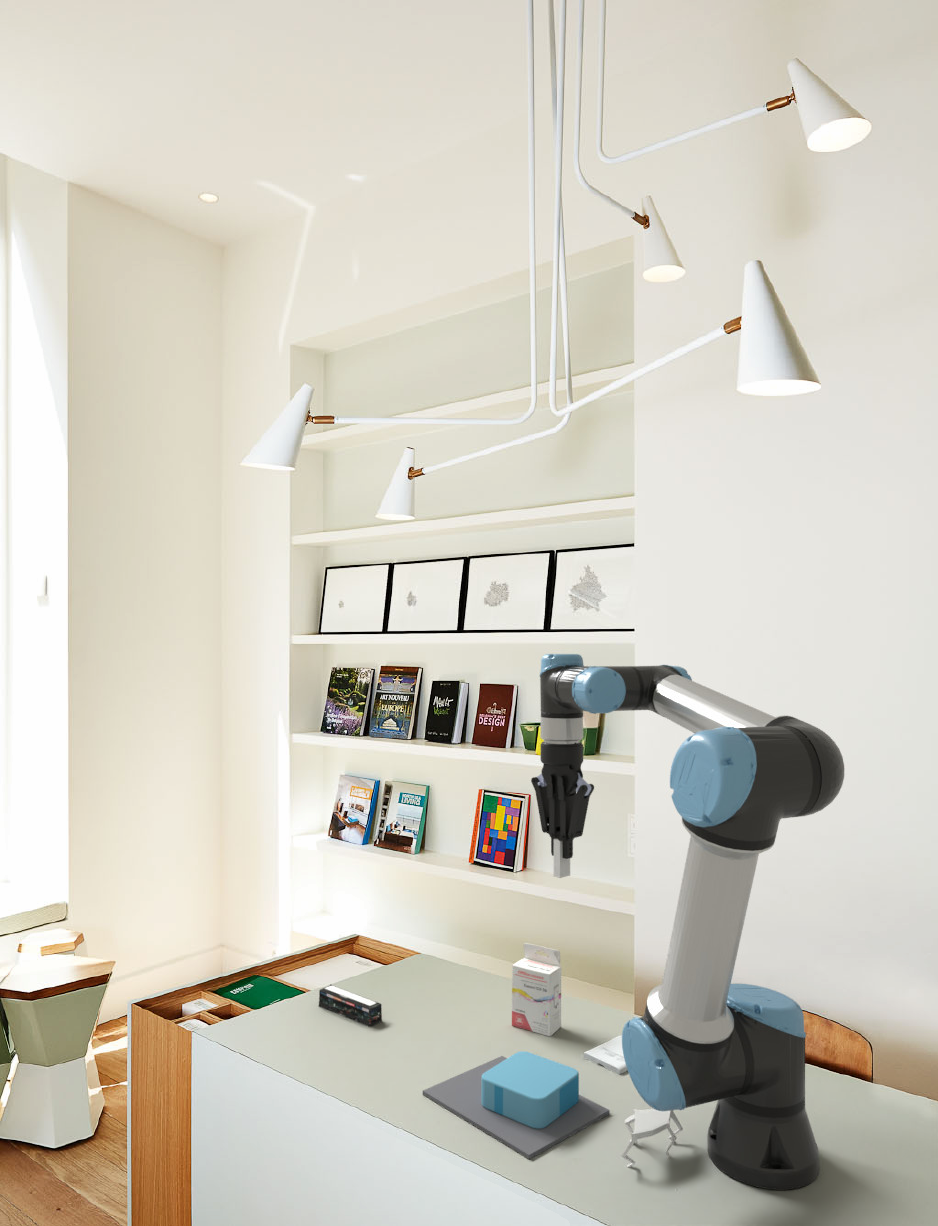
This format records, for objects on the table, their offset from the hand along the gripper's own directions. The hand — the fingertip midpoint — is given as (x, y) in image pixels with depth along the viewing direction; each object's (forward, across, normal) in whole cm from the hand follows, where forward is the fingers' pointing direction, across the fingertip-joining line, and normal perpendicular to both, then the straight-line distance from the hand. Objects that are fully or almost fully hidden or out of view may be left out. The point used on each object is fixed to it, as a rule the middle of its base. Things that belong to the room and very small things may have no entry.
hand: (561, 875), depth 155 cm
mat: (+32, -4, +16) cm, 36 cm away
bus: (+33, +40, +16) cm, 54 cm away
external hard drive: (+33, -5, -10) cm, 35 cm away
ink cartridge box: (+33, +13, -7) cm, 36 cm away
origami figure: (+33, -26, +12) cm, 44 cm away
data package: (+30, 0, +15) cm, 33 cm away
